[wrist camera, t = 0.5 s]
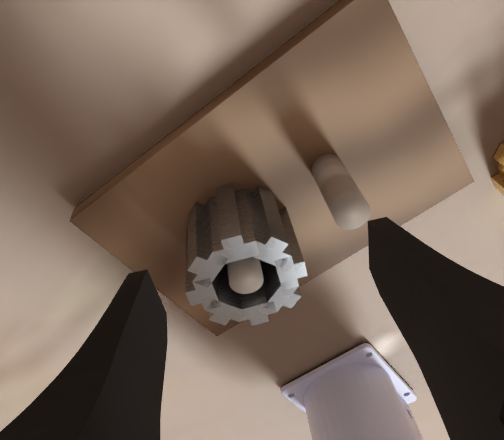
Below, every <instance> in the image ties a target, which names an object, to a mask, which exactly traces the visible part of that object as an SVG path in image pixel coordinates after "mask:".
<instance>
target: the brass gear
mask: <svg viewBox="0 0 504 440" xmlns="http://www.w3.org/2000/svg"><path fill="white" fill-rule="evenodd" d="M493 158H494V159H495V160H496V161H498V162H499V164H498V165H497V168H498V171H499V173H498V174H496V175H495V176H493V177H491V178H492V181H493V183H494V185H495V187H496V189H498V190H499V191H500V192H501V193H502V194H503V195H504V144H503V143H500V145H499V147H498V149H497V151H496V153H495V155H494V157H493Z"/></svg>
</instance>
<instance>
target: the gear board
mask: <svg viewBox="0 0 504 440" xmlns="http://www.w3.org/2000/svg"><path fill="white" fill-rule="evenodd" d="M472 182H474V179H473V177H472V175H471V173H470V171H469V169H468V167H467V165H466V163H465V161H464V158H463V156H462V154H461V152H460V150H459V148H458V146H457V144H456V142H455V140H454V137H453V135H452V133H451V131H450V129H449V127H448V125H447V123H446V121H445V119H444V117H443V114H442V112H441V110H440V108H439V106H438V104H437V102H436V100H435V98H434V96H433V93H432V91H431V89H430V87H429V85H428V83H427V81H426V79H425V77H424V75H423V72H422V70H421V68H420V66H419V64H418V62H417V60H416V58H415V56H414V54H413V52H412V49H411V47H410V45H409V43H408V41H407V39H406V37H405V35H404V33H403V31H402V28H401V26H400V24H399V22H398V20H397V18H396V16H395V14H394V12H393V10H392V8H391V5H390V3H389V1H388V0H340V1H339V2H337V3H336V4H335V5H334V6H332V7H331V8H330V9H329V10H327V11H326V12H325V13H323V14H322V15H321V16H320V17H318V18H317V19H316V20H314V21H313V22H312V23H311V24H309V25H308V26H307V27H306V28H304V29H303V30H302V31H300V32H299V33H298V34H297V35H295V36H294V37H293V38H291V39H290V40H289V41H288V42H286V43H285V44H284V45H283V46H281V47H280V48H279V49H277V50H276V51H275V52H274V53H272V54H271V55H270V56H269V57H267V58H266V59H265V60H263V61H262V62H261V63H260V64H258V65H257V66H256V67H254V68H253V69H252V70H251V71H249V72H248V73H247V74H246V75H244V76H243V77H242V78H240V79H239V80H238V81H237V82H235V83H234V84H233V85H232V86H230V87H229V88H228V89H226V90H225V91H224V92H223V93H221V94H220V95H219V96H217V97H216V98H215V99H214V100H212V101H211V102H210V103H209V104H207V105H206V106H205V107H203V108H202V109H201V110H200V111H198V112H197V113H196V114H194V115H193V116H192V117H191V118H189V119H188V120H187V121H186V122H184V123H183V124H182V125H180V126H179V127H178V128H177V129H175V130H174V131H173V132H172V133H170V134H169V135H168V136H166V137H165V138H164V139H163V140H161V141H160V142H159V143H157V144H156V145H155V146H154V147H152V148H151V149H150V150H149V151H147V152H146V153H145V154H143V155H142V156H141V157H140V158H138V159H137V160H136V161H134V162H133V163H132V164H131V165H129V166H128V167H127V168H126V169H124V170H123V171H122V172H120V173H119V174H118V175H117V176H115V177H114V178H113V179H112V180H110V181H109V182H108V183H106V184H105V185H104V186H103V187H101V188H100V189H99V190H97V191H96V192H95V193H94V194H92V195H91V196H90V197H89V198H87V199H86V200H85V201H83V202H82V203H81V204H80V205H78V206H77V207H76V208H75V209H74V211H73V214H72V216H71V219H70V222H72V223H73V224H74V225H75V226H77V227H78V228H79V229H80V230H82V231H83V232H84V233H86V234H87V235H88V236H89V237H91V238H92V239H93V240H95V241H96V242H97V243H98V244H100V245H101V246H102V247H104V248H105V249H106V250H107V251H109V252H110V253H111V254H112V255H114V256H115V257H116V258H118V259H119V260H120V261H121V262H123V263H124V264H125V265H127V266H128V267H129V268H130V269H132V270H133V271H134V272H138V271H142V270H148V272H149V274H150V277H151V279H152V281H153V283H154V286H155V288H156V289H157V290H159V291H160V292H161V293H162V294H164V295H165V296H166V297H167V298H169V299H170V300H171V301H173V302H174V303H175V304H176V305H178V306H179V307H180V308H182V309H183V310H184V311H185V312H187V313H188V314H189V315H190V316H192V317H193V318H194V319H196V320H197V321H198V322H199V323H201V324H202V325H203V326H205V327H206V328H207V329H208V330H210V331H211V332H212V333H214V334H215V335H216V336H218V335H220V334H221V333H223V332H225V331H226V330H228V329H230V328H231V327H233V326H235V325H236V324H238V323H240V322H238V321H235V320H232V319H230V320H229V322H228V323H227V324H226V326H225V325H222V324H219V323H216V322H213V321H210V320H209V312H208V311H205V310H204V307H203V305H202V303H201V304H197V305H193V306H191V304H190V302H189V300H188V298H187V295H186V293H185V276H186V235H187V234H188V214H189V212H190V210H191V209H192V207H193V205H194V204H195V202H198V203H201V204H203V205H205V204H206V202H207V200H208V199H209V198H210V197H214V196H216V187H218V186H222V185H226V184H230V183H233V185H234V188H235V191H236V190H240V189H244V188H245V189H248V190H250V191H252V192H253V191H254V190H255V189H256V187H257V186H258V185H260V186H262V187H264V188H266V189H268V190H270V191H272V192H273V194H274V198H275V201H276V204H277V207H278V210H280V209H284V208H287V211H288V214H289V217H290V220H291V223H292V226H293V229H294V232H295V235H296V238H297V241H298V244H299V247H300V250H301V253H302V256H303V259H304V262H305V266H306V271H307V275H308V276H305V277H301V278H297V280H298V284H299V287H300V286H301V285H303V284H305V283H306V282H308V281H309V280H311V279H313V278H314V277H316V276H318V275H319V274H321V273H323V272H324V271H326V270H328V269H329V268H331V267H333V266H334V265H336V264H338V263H339V262H341V261H343V260H344V259H346V258H348V257H349V256H351V255H353V254H354V253H356V252H358V251H359V250H361V249H363V248H364V247H366V246H368V245H369V244H368V221H370V220H374V219H379V218H383V217H387V218H389V219H390V220H392V221H393V222H395V223H396V224H397V225H399V226H401V225H403V224H404V223H406V222H408V221H409V220H411V219H413V218H414V217H416V216H418V215H419V214H421V213H423V212H424V211H426V210H428V209H429V208H431V207H433V206H434V205H436V204H438V203H439V202H441V201H443V200H444V199H446V198H448V197H449V196H451V195H453V194H454V193H456V192H458V191H459V190H461V189H463V188H464V187H466V186H467V185H469V184H471V183H472ZM227 267H228V276H229V285H230V287H231V289H232V290H234V291H235V292H237V293H241V294H249V293H253V292H255V291H257V290H258V289H259V288H260V287H261V286H262V284H263V274H262V269H261V264H260V260H259V259H257V258H254V257H249V258H245V259H241V260H238V261H234V262H230V263H227Z"/></svg>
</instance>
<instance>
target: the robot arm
mask: <svg viewBox="0 0 504 440" xmlns="http://www.w3.org/2000/svg"><path fill="white" fill-rule="evenodd" d="M368 244H369V269H370V271H371V274H372V276H373V279H374V281H375V284H376V286H377V289H378V291H379V294H380V296H381V298H382V299H383V301H384V303H385V305H386V307H387V308H388V310H389V312H390V314H391V315H392V317H393V319H394V321H395V322H396V324H397V326H398V328H399V329H400V331H401V333H402V335H403V337H404V338H405V340H406V342H407V344H408V345H409V347H410V349H411V351H412V352H413V354H414V356H415V358H416V360H417V362H418V364H419V366H420V369H421V371H422V373H423V375H424V378H425V380H426V382H427V385H428V387H429V389H430V391H431V394H432V396H433V398H434V401H435V403H436V406H437V408H438V410H439V413H440V415H441V418H442V420H443V422H444V425H445V427H446V430H447V432H448V435H449V437H450V440H504V286H501V285H499V284H497V283H494V282H492V281H490V280H488V279H486V278H484V277H482V276H480V275H478V274H476V273H474V272H472V271H470V270H468V269H466V268H464V267H462V266H460V265H459V264H457V263H455V262H453V261H452V260H450V259H448V258H446V257H445V256H443V255H442V254H440V253H438V252H437V251H435V250H434V249H432V248H431V247H429V246H428V245H426V244H424V243H423V242H422V241H420V240H419V239H417V238H416V237H414V236H413V235H411V234H410V233H409V232H407V231H406V230H404V229H403V228H402V227H400V226H399V225H397V224H396V223H395V222H393V221H392V220H390V219H389V218H387V217H383V218H379V219H374V220H370V221H368ZM166 351H167V316H166V311H165V309H164V306H163V304H162V302H161V299H160V297H159V295H158V293H157V290H156V288H155V286H154V283H153V281H152V279H151V277H150V274H149V272H148V270H142V271H138V272H133V273H129V274H128V276H127V277H126V279H125V280H124V282H123V283H122V285H121V287H120V288H119V290H118V292H117V293H116V295H115V297H114V298H113V300H112V302H111V303H110V305H109V307H108V308H107V310H106V311H105V313H104V314H103V316H102V317H101V319H100V321H99V322H98V324H97V325H96V327H95V328H94V330H93V331H92V332H91V334H90V335H89V337H88V338H87V339H86V341H85V342H84V344H83V345H82V347H81V348H80V349H79V351H78V352H77V353H76V354H75V356H74V357H73V358H72V359H71V361H70V362H69V363H68V364H67V365H66V367H65V368H64V369H63V370H62V371H61V372H60V374H59V375H58V376H57V377H56V378H55V379H54V380H53V381H52V382H51V383H50V384H49V386H48V387H47V388H46V389H45V390H44V391H43V392H42V393H41V394H40V395H39V396H38V397H37V398H36V399H35V400H34V401H33V402H32V403H31V404H30V405H29V406H28V407H27V408H26V409H25V410H24V411H23V412H22V413H21V414H20V415H19V416H17V417H16V418H15V419H14V420H13V421H12V422H11V423H10V424H9V425H7V426H6V427H5V428H4V429H3V430H2V431H1V432H0V440H160V414H161V401H162V391H163V381H164V371H165V361H166ZM281 393H282V395H283V396H284V397H286V398H287V399H288V400H290V401H291V402H292V403H294V404H295V405H296V406H297V407H299V408H300V409H301V410H303V411H304V412H305V413H306V414H307V418H308V422H309V427H310V431H311V435H312V439H313V440H423V437H422V435H421V433H420V431H419V429H418V426H417V424H416V422H415V420H414V417H413V415H412V413H411V411H410V409H409V406H408V404H410V403H412V402H414V401H415V400H416V399H417V396H416V394H415V392H414V391H413V390H412V389H411V388H410V387H409V386H408V385H407V384H406V383H405V382H404V381H403V379H402V378H401V377H400V376H399V375H398V374H397V373H396V372H395V371H394V370H393V369H392V368H391V366H390V365H389V364H388V363H387V362H386V361H385V360H384V359H383V358H382V357H381V356H380V355H379V354H378V352H377V351H376V350H375V349H374V348H373V347H372V346H371V345H370V344H368V343H364V344H361V345H359V346H357V347H355V348H354V349H352V350H350V351H348V352H346V353H344V354H342V355H341V356H339V357H337V358H335V359H333V360H331V361H329V362H328V363H326V364H324V365H322V366H320V367H318V368H316V369H314V370H313V371H311V372H309V373H307V374H305V375H303V376H301V377H300V378H298V379H296V380H294V381H292V382H290V383H288V384H286V385H285V386H283V387H282V388H281Z"/></svg>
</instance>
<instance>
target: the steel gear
mask: <svg viewBox="0 0 504 440" xmlns="http://www.w3.org/2000/svg"><path fill="white" fill-rule="evenodd" d="M249 257H254V258H257V259H259V260H260V264H261V269H262V274H263V284H262V286H261V287H260V288H259V289H258V290H257V291H255V292H253V293H249V294H241V293H237V292H235V291H234V290H232V289H231V287H230V285H229V276H228V267H227V263H230V262H234V261H238V260H241V259H245V258H249ZM305 276H308V275H307V271H306V266H305V262H304V259H303V256H302V253H301V250H300V247H299V244H298V241H297V238H296V235H295V232H294V229H293V226H292V223H291V220H290V217H289V214H288V211H287V208H284V209H280V210H278V207H277V204H276V201H275V198H274V194H273V192H272V191H270V190H268V189H266V188H264V187H262V186H260V185H258V186H257V187H256V189H255V190H254V191H253V192H252V191H250V190H248V189H245V188H244V189H240V190H236V191H235V188H234V185H233V183H230V184H226V185H222V186H218V187H216V196H214V197H210V198H209V199H208V200H207V202H206V204H205V205H203V204H201V203H198V202H195V204H194V205H193V207H192V209H191V210H190V212H189V214H188V234H187V235H186V276H185V293H186V295H187V298H188V300H189V302H190V304H191V306H193V305H197V304H201V303H202V305H203V307H204V310H205V311H208V312H209V320H210V321H213V322H216V323H219V324H222V325H225V326H226V324H227V323H228V322H229V320H230V319H232V320H235V321H238V322H241V321H245V320H250V323H251V325H252V326H254V325H258V324H262V323H266V322H269V318H268V315H269V314H272V313H276V312H278V311H279V309H280V308H281V307H282V306H285V307H288V308H292V307H293V306H294V305H295V304H296V302H297V301H298V300H299V299H300V298H301V297H302V296H301V293H300V290H299V284H298V280H297V278H301V277H305Z"/></svg>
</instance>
